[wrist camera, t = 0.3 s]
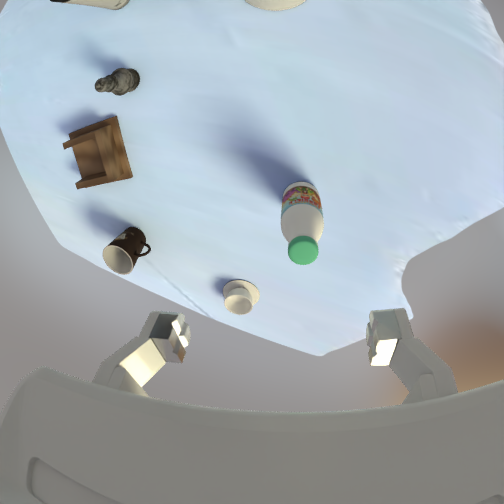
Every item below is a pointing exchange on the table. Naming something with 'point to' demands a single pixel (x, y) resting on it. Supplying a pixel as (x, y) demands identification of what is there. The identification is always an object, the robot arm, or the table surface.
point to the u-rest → (100, 153)
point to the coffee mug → (125, 250)
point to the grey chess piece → (119, 82)
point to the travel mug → (98, 3)
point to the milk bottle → (302, 221)
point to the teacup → (240, 296)
